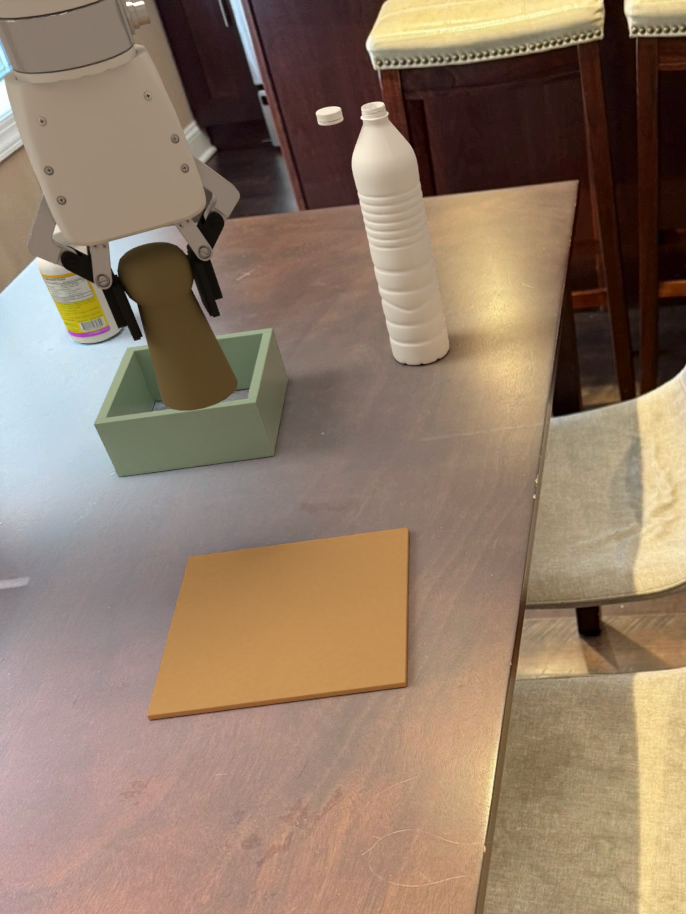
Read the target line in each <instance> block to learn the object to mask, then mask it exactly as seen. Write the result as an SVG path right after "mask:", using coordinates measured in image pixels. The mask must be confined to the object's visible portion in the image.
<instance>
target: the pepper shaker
mask: <svg viewBox="0 0 686 914" xmlns="http://www.w3.org/2000/svg"><path fill="white" fill-rule="evenodd" d="M116 271H117V272H116V273H117V276H118V279H119V280H120V282H121V284H122V286H123V288H124V291H125V293H126V296H127V298H128V299H129V300H132V301H133V302H134V303H135V304H136V306H137V310H138V313H139V317H140V321H141V324H142V325H141V326H142V329H143V332H144V336H145V340H146V345H148V348H149V352H150V356H151V360H152V364H153V367H154V371H155V375H156V379H157V383H158V387H159V391H160V394H161V398H162V400H161V402H162V403H163V406H165V407H167V408H169V409H174V410H179V411H191V410H197V409H203V408H206V407H209V406H212V405H215V404H217V403H219V402H224V401H225V400H227V399H228V398H229V397H230V396H231V395H233V394H234V393H235V391H237V390H236V388H237V386H238V381H237V379H236V377H235V375H234V373H233V371H232V369H231V367H230V365H229V363H228V361H227V359H226V357H225V355H224V353H223V351H222V349H221V347H220V345H219V343H218V341H217V339H216V337H215V336H216V335H215V333H214V331H213V328H212V327H211V324H210V323H209V321H208V319H207V317H206V315H205V313H204V310H203V309H202V306H201V304H200V303H199V301H198V299H197V297H196V295H195V293H194V291H193V286H194V282H195V281H194V274H193V269H192V266H191V263H190V260H189V259H188V257H187V254H186V253H185V251H184V250H183V249H182V248H181V247H179V245H177V244H175V243H171V242H167V241H154V242H149V243H143V244H140V245H136V246H134V247H133V248H131V249H129V250H126V252H124V254H123V255H122V256H121V257H120V258H119V259H118V264H117V269H116Z"/></svg>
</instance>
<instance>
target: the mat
mask: <svg viewBox="0 0 686 914" xmlns="http://www.w3.org/2000/svg"><path fill="white" fill-rule="evenodd" d="M409 558H410V529H409V527H408V526H407V527H406V526H405V527H401V528H392V529H383V530H377V531H370V532H362V533H354V534H347V535H340V536H333V537H324V538H317V539H316V538H315V539H310V540H302V541H295V542H294V541H293V542H287V543H279V544H272V545H265V546H257V547H256V546H255V547H250V548H241V549H235V550H227V551H219V552H213V553H212V552H211V553H205V554H199V555H198V554H196V555H190V556H188V557H187V562H186V565H185V568H184V569H185V570H184V573H183V577H182V581H181V585H180V588H179V592H178V595H177V598H176V599H177V600H176V603H175V607H174V610H173V611H174V612H173V614H172V618H171V622H170V626H169V629H168V633H167V638H166V642H165V644H164V649H163V651H162V652H163V653H162V657H161V661H160V664H159V668H158V672H157V675H156V679H155V684H154V687H153V690H152V693H151V694H152V695H151V698H150V702H149V707H148V710H147V714H146V717H147V719H148V720H149V721H151V720H159V719H166V718H175V717H182V716H183V717H184V716H191V715H196V714H197V715H198V714H205V713H214V712H221V711H228V710H237V709H244V708H251V707H259V706H267V705H275V704H282V703H289V702H297V701H305V700H306V701H307V700H313V699H320V698H328V697H335V696H337V697H338V696H344V695H352V694H358V693H367V692H376V691H381V690H389V689H396V688H404V687H407V684H408V683H407V682H408V631H409V629H408V628H409V627H408V625H409V623H408V622H409V621H408V620H409V566H410V565H409V563H410V561H409V560H410V559H409Z"/></svg>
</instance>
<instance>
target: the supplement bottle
mask: <svg viewBox="0 0 686 914" xmlns="http://www.w3.org/2000/svg"><path fill="white" fill-rule="evenodd" d="M52 239H54V240H55V241H57V242H59V243H60V244H63V245H65V246H70V247H73V248H75V249H76V250H78V251H80V252H82V253H84V254H86V255H87V251H86V246H78V245H74V244H71V243H69V242H68V241H67V240H66V239H65V238H64V236H63V235H62V233H61V231H60V229H59V227H58V226H57V224H56V226H55V229H54V232H53V236H52ZM36 266H37V269H38V271H39V273H40V275H41V277H42V279H43V281H44V284H45V286H46V288H47V291H48V292H49V294H50V296H51V298H52V301H53V303H54V305H55V307H56V309H57V311H58V313H59V315H60V318H61V319H62V322H63V324H64V326H65V328H66V331H67V332H68V334H69V337H70V338H71V339H72V340H73V341H75V342H77V343H79V344H96V343H100V342H103V341H106V340H108V339H111V338H112V337H114V336H115V335H117V334H118V333H119V332H121V330H123V329H122V328H123V327H122V328H119V329H118V327H117V324H116V322H115V320H114V317H113V315H112V313H111V310H110V308H109V305H108V303H107V301H106V298H105V296H104V294H103V291H102V289H100V288H98V287H97V286H96V285H95V284H94V283H92V282H90V281H88V280H86V279H84V278H82V277H80V276H78V275H76V274H74V273H72V272H70V271H68V270H67V269H65V268H64V267H62V266H60V265H56V264H53V263H51V262H49V261H46V260H44V259H41V258H39V257H36Z"/></svg>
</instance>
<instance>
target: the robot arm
mask: <svg viewBox="0 0 686 914" xmlns="http://www.w3.org/2000/svg"><path fill="white" fill-rule="evenodd" d="M149 24H151V18H150V14H149V11H148V8H147V5H146V3H145V0H0V42H1V44H2V47H3V49H4V51H5V54H6V56H7V58H8V61H9V63H10V65H11V69H12V70H11V71H9V72H8V73H7V74H5V75H4V77H3V80H4V85H5V90H6V93H7V98H8V100H9V101H8V102H9V105H10V109H11V111H12V115H13V119H14V122H15V125H16V129H17V131H18V133H19V136H20V139H21V142H22V144H23V147H24V150H25V152H26V156H27V157H28V161H29V162H30V165H31V168H32V171H33V173H34V176H35V179H36V181H37V183H38V186H39V188H40V192H39V196H38V199H37V203H36V206H35V209H34V213H33V215H32V220H31V223H30V226H29V229H28V233H27V236H26V239H25V240H26V241H25V243H26V246H27V249H28V250H27V251H28V252H29V253H30V254H31V255H33V256H34V257H36V258H37V257H39V258H41V259H44V260H46V261H49V262H51V263H53V264H56V265H60V266H62V267H64V268H65V269H67V270H68V271H70V272H72V273H74V274H76V275H78V276H80V277H82V278H84V279H86V280H88V281H90V282H92V283H94V284H95V285H96V286H97V287H98V288H100V289H102V291H103V294H104V296H105V298H106V301H107V303H108V305H109V308H110V310H111V313H112V315H113V317H114V320H115V322H116V324H117V327H118V329H119V328H126V327H127V328H128V331H129V333H130V334H131V335H130V336H131V337H132V339H133V341H134V342H137V341H140V340H142V338H143V337H144V335H143V333H142V331H141V328H140V325H139V323H138V320H137V317H136V316H135V312H134V310H133V308H132V305H131V303H130V301H129V297H128V295H127V294H126V292H125V291H124V288H123V286H122V284H121V282H120V280H119V279H118V273H117V274H115V272H114V270H113V268H112V264H111V252H110V242H114V241H117V240H121V239H125V238H128V237H129V238H130V237H132V236H136V235H140V234H143V233H146V232H151V231H155V230H159V229H162V228H165V227H169V226H172V225H174V226H175V227H176V229H177V230H178V232H179V233H180V234H181V236H182V237H183V239H184V240H185V241H186V243H187V244H186V253H187V254H186V255H187V257H188V259H189V260H190V263H191V266H192V269H193V274H194V281H193V282H194V284H195V287H196V289H197V292H198V295H199V297H200V300H201V303H202V305H203V307H204V309H205V310H206V312H207V314H208V316H209V317H210V318H211V317H212V318H218V317H221V313H220V309H219V307H218V304H217V302H216V301H217V300H221V299H223V298H224V295H223V292H222V289H221V287H220V284H219V280H218V278H217V274H216V272H215V269H214V266H213V263H212V257H213V256H214V251H213V250H214V248H215V246H216V244H217V242H218V240H219V238H220V236H221V234H222V231H223V229H224V228H225V223H226V221H227V219H228V218H229V217H230V216H231V214H232V213H233V210H234V209H235V207H236V206H237V204H238V202H239V201H240V199H241V194H240V191H239V190H238V189H237V188H236V186H235V185H234V184H233V183H232V182H230V181H229V180H227V179H226V178H225V177H223V176H222V175H221V174H219V173H218V172H217V171H215V170H214V169H213V168H212V167H210V166H209V165H208V164H206V163H205V162H203V161H202V160H201V159H199V158H198V157H197V156H195V155H194V154H193V153H192V150H191V148H190V145H189V143H188V140H187V137H186V135H185V131H184V129H183V127H182V125H181V122H180V119H179V117H178V114H177V112H176V109H175V106H174V105H173V103H172V101H171V99H170V97H169V94H168V92H167V90H166V87H165V85H164V82H163V80H162V77H161V75H160V73H159V71H158V69H157V67H156V65H155V63H154V60H153V59H152V57H151V55H150V53H149V52H148V50H147V48H146V46H145V45H143V44H137V43H136V42H135V38H134V37H133V36H134V35H136V30H140V29H141V26H146V25H149ZM205 189H206V190H208V191H209V192H210V193H212V196H211V199H210V201H209V204H208V206H207V207H206V205H207V198H206V197H207V196H206V192H205ZM199 214H200V217H199V219H198V222H196V223H197V224H196V223H195V221H194V220H193V219H194V218H195V217H197V216H198V215H199ZM56 224H57V226H58V227H59V229H60V231H61V233H62V235H63V236H64V238H65V239H66V240H67V241H68V242H69V243H71V244H74V245H78V246H86V251H87V255H86V254H84V253H82V252H80V251H78V250H76V249H75V248H73V247H70V246H65V245H63V244H60V243H59V242H57V241H55V240H54V239H52V236H53V232H54V229H55V226H56Z"/></svg>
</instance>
